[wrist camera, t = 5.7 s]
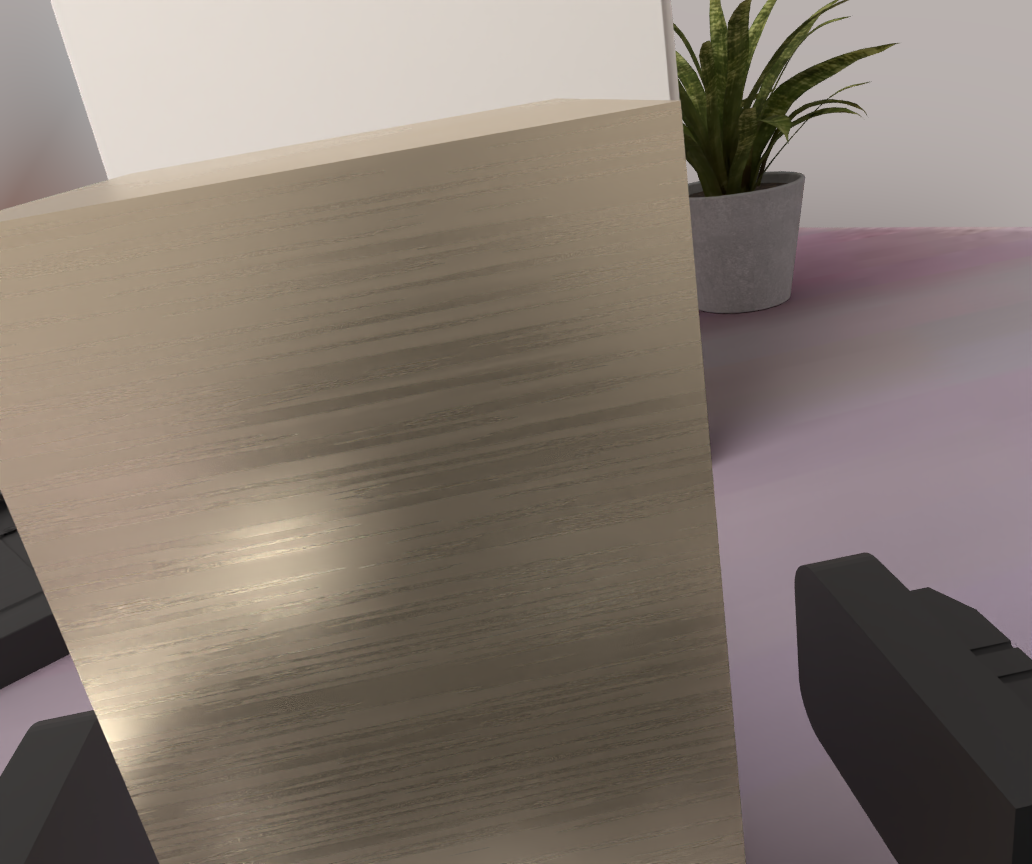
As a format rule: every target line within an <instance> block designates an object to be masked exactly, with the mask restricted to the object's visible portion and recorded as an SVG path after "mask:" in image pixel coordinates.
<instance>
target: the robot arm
mask: <svg viewBox="0 0 1032 864" xmlns="http://www.w3.org/2000/svg"><path fill="white" fill-rule="evenodd" d="M795 605H796V626H797V646H798V667H799V683H800V690H801V695H802V699H803V703H804V706H805V710H806V713H807V716H808V718H809V721H810V723H811V726H812V728H813V730H814V732H815V734H816V736H817V738H818V739H819V741H820V743H821V744H822V746H823V747H824V749H825V750H826V752H827V753H828V755H829V757H830V758H831V760H832V761H833V763H834V764H835V766H836V767H837V769H838V771H839V772H840V774H841V775H842V777H843V778H844V780H845V781H846V783H847V785H848V786H849V788H850V789H851V791H852V792H853V794H854V795H855V797H856V799H857V800H858V802H859V803H860V805H861V806H862V808H863V809H864V811H865V813H866V814H867V816H868V817H869V819H870V820H871V822H872V823H873V825H874V827H875V828H876V830H877V831H878V833H879V834H880V836H881V837H882V839H883V841H884V842H885V844H886V845H887V847H888V848H889V850H890V851H891V853H892V855H893V856H894V858H895V859H896V861H897V862H898V864H1032V660H1031V659H1030V658H1029V657H1028V656H1027V655H1026V654H1025V653H1024V652H1023V651H1021V650H1020V649H1019V648H1018V647H1016V648H1013V647H1012V645H1011V641H1010V640H1009V639H1008V638H1007V637H1006V636H1005V635H1004V634H1003V633H1001V632H1000V631H999V630H998V629H997V628H996V627H995V626H994V625H993V624H991V623H990V622H989V621H988V620H987V619H986V618H985V617H984V616H983V615H981V614H980V613H979V612H978V611H977V610H976V609H974V608H972V607H969V606H967V605H965V604H963V603H961V602H959V601H957V600H954V599H952V598H950V597H948V596H946V595H944V594H942V593H940V592H937V591H935V590H933V589H931V588H929V587H927V588H922V589H917V590H912V591H909V590H908V589H907V588H906V587H905V586H904V585H903V584H902V583H901V582H900V581H899V580H898V579H897V578H896V577H895V576H894V575H893V574H892V573H891V572H890V571H889V570H888V569H887V568H886V567H885V566H884V565H883V564H882V563H881V562H880V561H879V560H878V559H877V558H875V557H874V556H873V555H871V554H869V553H861V554H856V555H851V556H846V557H841V558H836V559H832V560H827V561H822V562H817V563H812V564H807V565H803V566H800V567H799V568H798V569H797V571H796V575H795ZM0 864H159V862H158V859H157V857H156V855H155V852H154V850H153V848H152V845H151V843H150V841H149V838H148V836H147V834H146V831H145V829H144V826H143V824H142V822H141V819H140V817H139V815H138V812H137V810H136V808H135V805H134V803H133V801H132V798H131V796H130V794H129V791H128V789H127V787H126V784H125V782H124V779H123V777H122V775H121V772H120V770H119V768H118V765H117V763H116V761H115V758H114V756H113V754H112V751H111V749H110V747H109V744H108V742H107V739H106V737H105V735H104V732H103V730H102V728H101V725H100V723H99V721H98V718H97V716H96V714H95V711H94V710H92V711H87V712H82V713H77V714H72V715H67V716H63V717H58V718H53V719H48V720H43V721H39V722H37V723H35V724H33V725H32V726H31V727H30V728H29V730H28V731H27V733H26V734H25V736H24V738H23V739H22V741H21V743H20V744H19V746H18V748H17V749H16V751H15V753H14V754H13V756H12V758H11V759H10V761H9V763H8V764H7V766H6V768H5V770H4V771H3V773H2V775H1V776H0Z"/></svg>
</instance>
